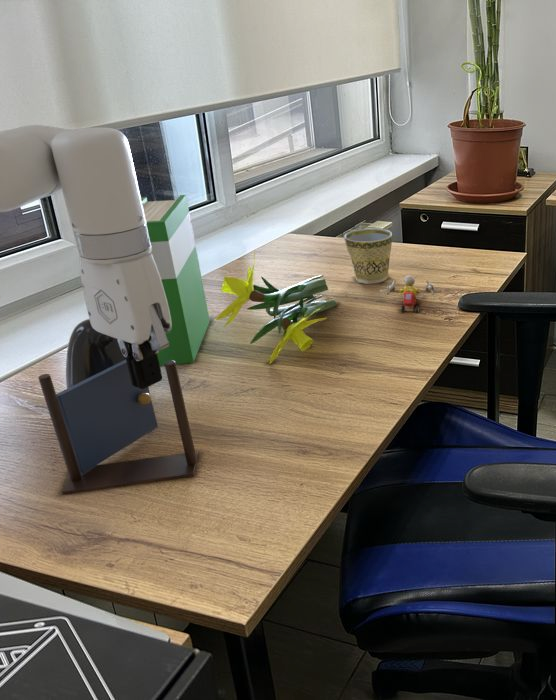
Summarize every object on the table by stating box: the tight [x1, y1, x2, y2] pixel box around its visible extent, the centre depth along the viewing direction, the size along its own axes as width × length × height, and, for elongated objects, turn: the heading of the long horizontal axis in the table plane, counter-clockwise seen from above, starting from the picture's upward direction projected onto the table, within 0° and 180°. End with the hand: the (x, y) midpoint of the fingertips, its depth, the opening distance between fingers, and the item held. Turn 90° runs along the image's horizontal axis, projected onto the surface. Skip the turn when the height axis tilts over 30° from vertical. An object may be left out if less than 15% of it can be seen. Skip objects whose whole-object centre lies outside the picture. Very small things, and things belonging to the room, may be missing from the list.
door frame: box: [38, 360, 199, 496], centre depth 85 cm, size 15×5×15 cm, turn 103°
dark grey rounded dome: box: [65, 318, 150, 389], centre depth 98 cm, size 10×10×15 cm
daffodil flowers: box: [214, 251, 337, 365], centre depth 121 cm, size 17×15×35 cm
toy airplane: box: [379, 275, 442, 314], centre depth 137 cm, size 9×9×6 cm
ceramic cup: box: [343, 227, 393, 285], centre depth 151 cm, size 13×10×10 cm
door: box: [56, 360, 159, 473], centre depth 89 cm, size 12×2×11 cm, turn 155°
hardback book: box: [140, 194, 211, 366], centre depth 118 cm, size 18×7×24 cm, turn 10°
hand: (147, 383), depth 88 cm, fingers closed
